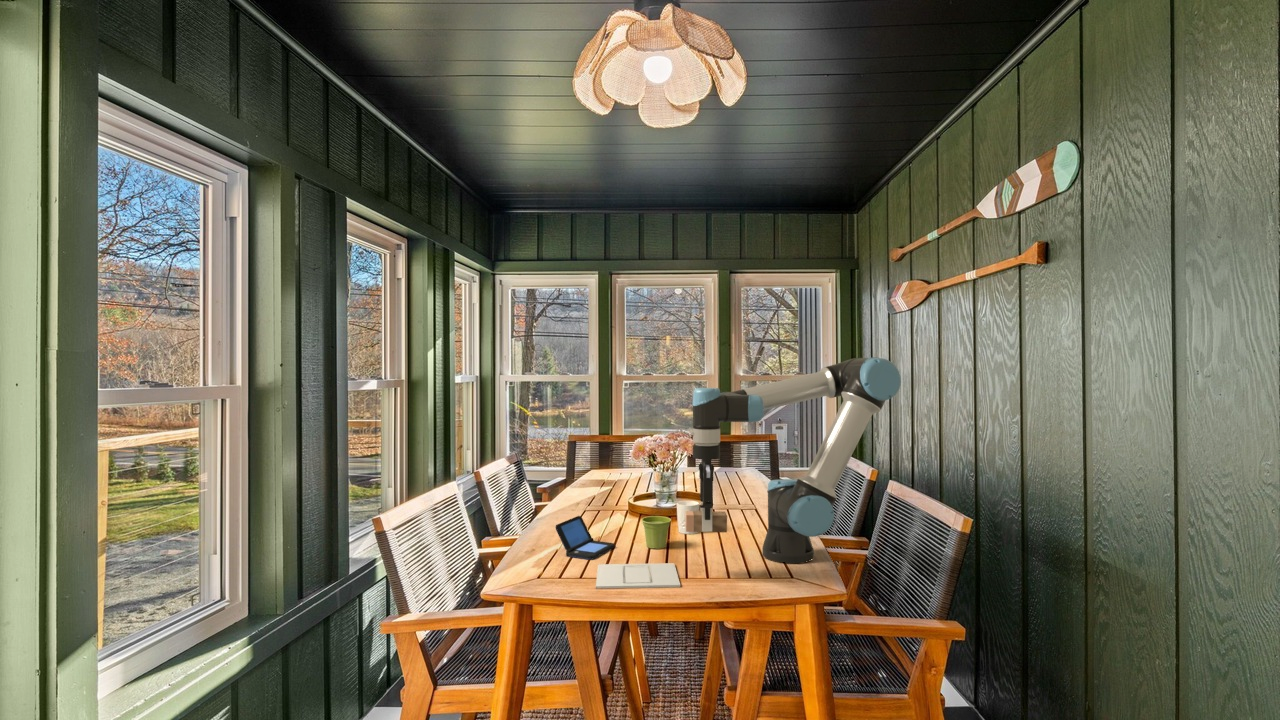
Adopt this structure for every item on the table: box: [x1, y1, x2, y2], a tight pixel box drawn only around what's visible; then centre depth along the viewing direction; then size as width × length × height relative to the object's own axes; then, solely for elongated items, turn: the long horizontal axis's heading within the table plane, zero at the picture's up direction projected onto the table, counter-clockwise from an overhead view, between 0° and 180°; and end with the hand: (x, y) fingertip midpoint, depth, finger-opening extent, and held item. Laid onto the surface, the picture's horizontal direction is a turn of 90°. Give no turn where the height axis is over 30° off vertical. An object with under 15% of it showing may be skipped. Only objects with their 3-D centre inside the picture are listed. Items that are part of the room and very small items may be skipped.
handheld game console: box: [555, 515, 616, 560], centre depth 199 cm, size 16×13×9 cm
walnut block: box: [685, 510, 728, 533], centre depth 176 cm, size 11×5×4 cm, turn 89°
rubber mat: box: [595, 562, 681, 589], centre depth 175 cm, size 22×18×1 cm
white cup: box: [676, 500, 700, 535], centre depth 221 cm, size 8×8×10 cm
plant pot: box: [641, 515, 672, 550], centre depth 203 cm, size 9×9×9 cm
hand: (706, 528), depth 176 cm, fingers closed on walnut block, 5 cm apart
